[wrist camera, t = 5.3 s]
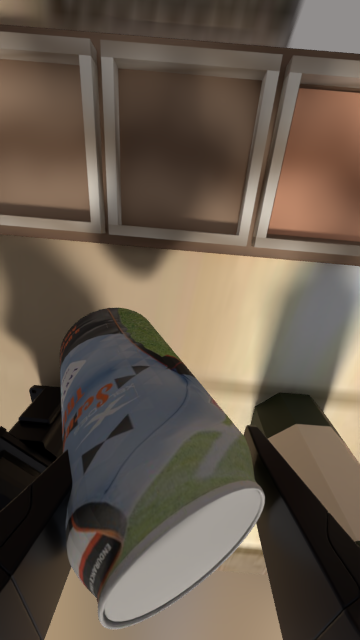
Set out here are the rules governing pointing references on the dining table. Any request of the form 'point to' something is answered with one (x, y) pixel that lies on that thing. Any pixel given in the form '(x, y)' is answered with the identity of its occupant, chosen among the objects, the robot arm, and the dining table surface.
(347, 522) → the wine bottle
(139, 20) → the dining table surface
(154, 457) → the beverage can
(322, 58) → the board
